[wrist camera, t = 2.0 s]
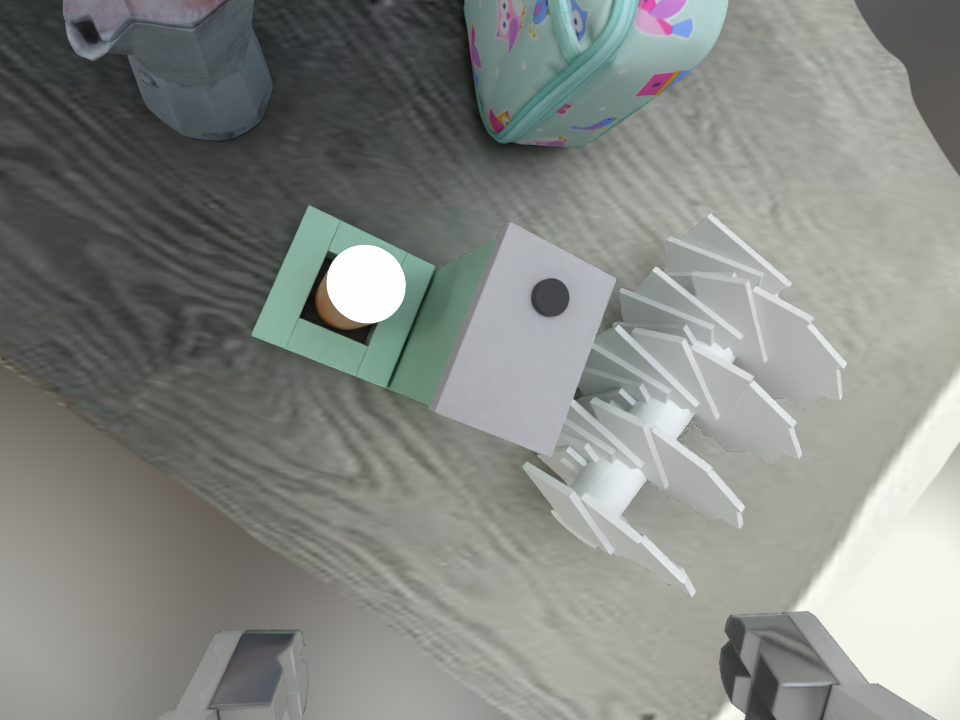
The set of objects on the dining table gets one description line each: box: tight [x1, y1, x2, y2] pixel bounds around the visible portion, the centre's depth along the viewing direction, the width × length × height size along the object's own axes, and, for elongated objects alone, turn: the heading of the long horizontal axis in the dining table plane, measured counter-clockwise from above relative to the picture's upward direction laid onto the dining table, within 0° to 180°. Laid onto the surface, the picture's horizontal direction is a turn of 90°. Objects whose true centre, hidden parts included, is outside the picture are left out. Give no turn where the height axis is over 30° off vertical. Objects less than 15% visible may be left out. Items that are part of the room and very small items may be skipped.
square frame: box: [251, 205, 435, 388], centre depth 42 cm, size 10×10×3 cm
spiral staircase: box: [522, 213, 847, 598], centre depth 43 cm, size 18×18×25 cm
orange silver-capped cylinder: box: [314, 245, 406, 331], centre depth 37 cm, size 4×4×12 cm
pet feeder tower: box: [386, 222, 617, 457], centre depth 37 cm, size 7×11×18 cm, turn 157°
